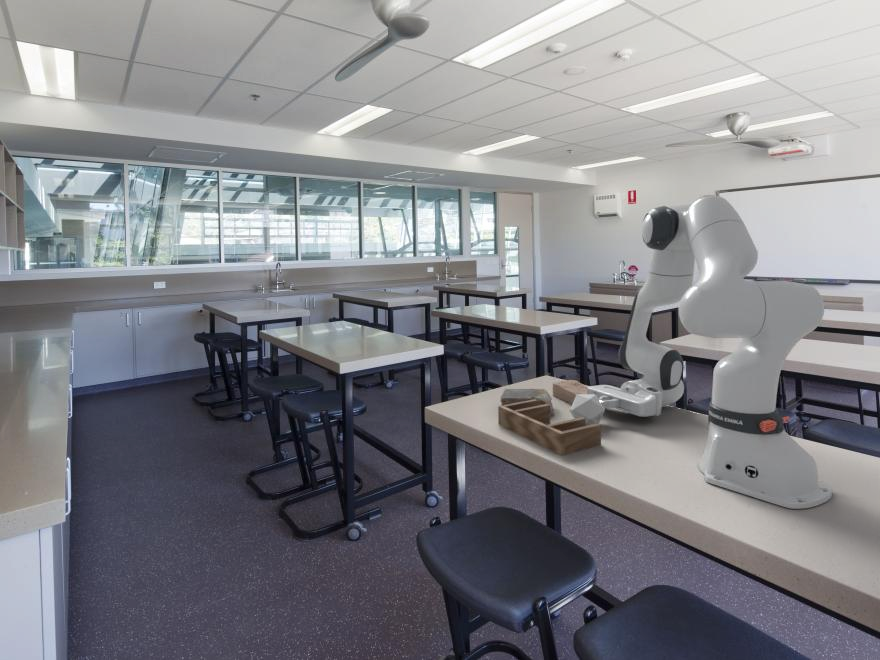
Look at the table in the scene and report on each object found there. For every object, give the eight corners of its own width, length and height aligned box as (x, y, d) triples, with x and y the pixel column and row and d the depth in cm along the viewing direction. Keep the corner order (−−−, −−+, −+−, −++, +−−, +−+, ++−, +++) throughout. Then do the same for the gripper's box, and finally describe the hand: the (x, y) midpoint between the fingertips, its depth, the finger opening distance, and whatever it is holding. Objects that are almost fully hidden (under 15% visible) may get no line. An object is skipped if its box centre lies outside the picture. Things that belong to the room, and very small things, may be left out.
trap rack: (600, 444, 122) (601, 424, 121) (561, 455, 116) (561, 434, 116) (534, 416, 144) (534, 399, 143) (498, 424, 138) (498, 406, 137)
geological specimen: (500, 388, 156) (550, 386, 154) (501, 408, 157) (551, 406, 155) (499, 397, 146) (553, 395, 143) (500, 418, 146) (554, 416, 144)
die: (596, 434, 131) (614, 401, 132) (566, 416, 132) (584, 384, 134) (589, 434, 139) (607, 404, 140) (561, 417, 140) (578, 387, 142)
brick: (604, 407, 152) (605, 391, 151) (579, 410, 149) (580, 394, 149) (574, 393, 167) (574, 379, 167) (551, 396, 165) (551, 381, 164)
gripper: (607, 377, 152) (571, 384, 146) (666, 393, 135) (628, 401, 128) (607, 398, 153) (571, 405, 147) (665, 416, 135) (627, 426, 129)
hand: (598, 404), depth 137 cm, fingers closed
